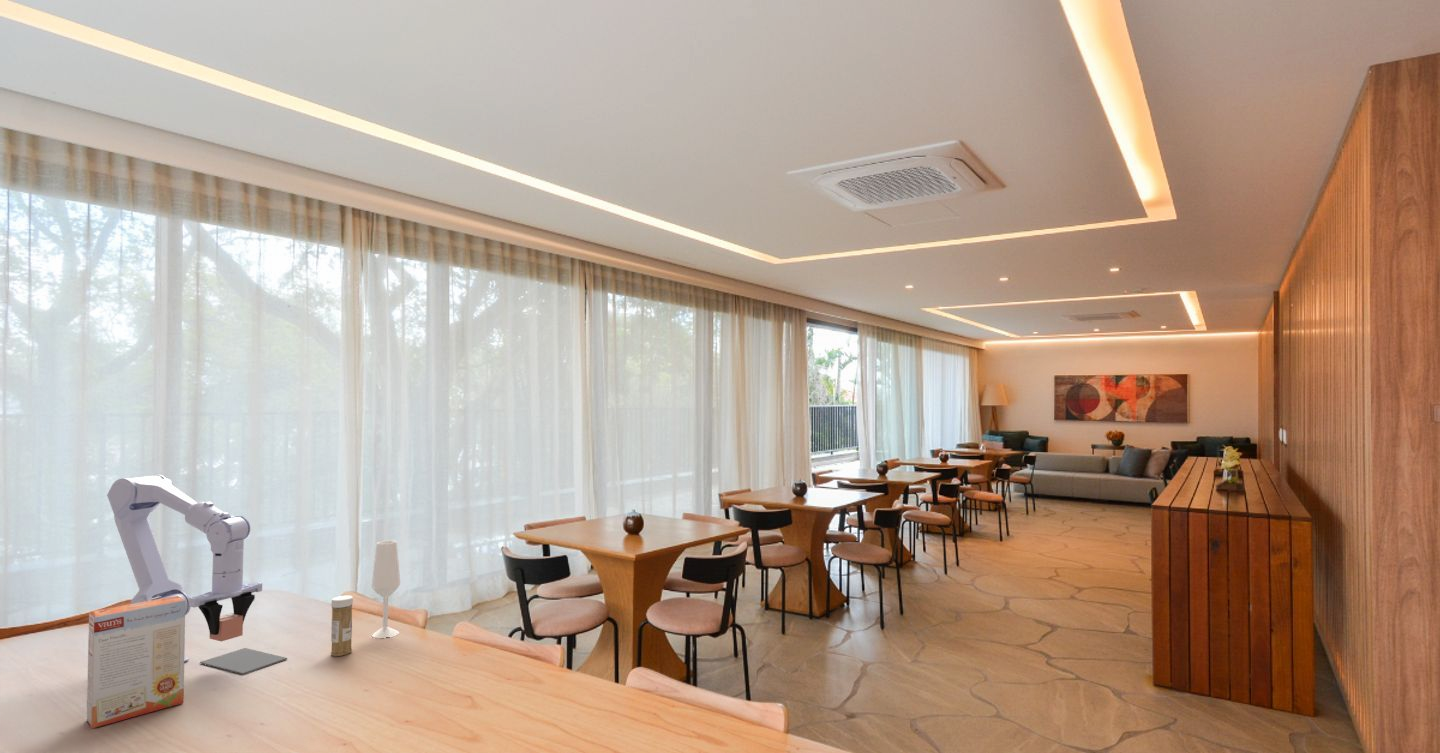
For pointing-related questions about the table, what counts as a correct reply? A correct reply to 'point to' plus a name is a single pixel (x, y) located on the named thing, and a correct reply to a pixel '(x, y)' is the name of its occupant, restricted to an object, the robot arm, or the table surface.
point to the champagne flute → (386, 580)
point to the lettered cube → (229, 627)
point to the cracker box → (135, 659)
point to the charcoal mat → (244, 661)
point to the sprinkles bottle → (341, 625)
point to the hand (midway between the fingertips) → (226, 630)
